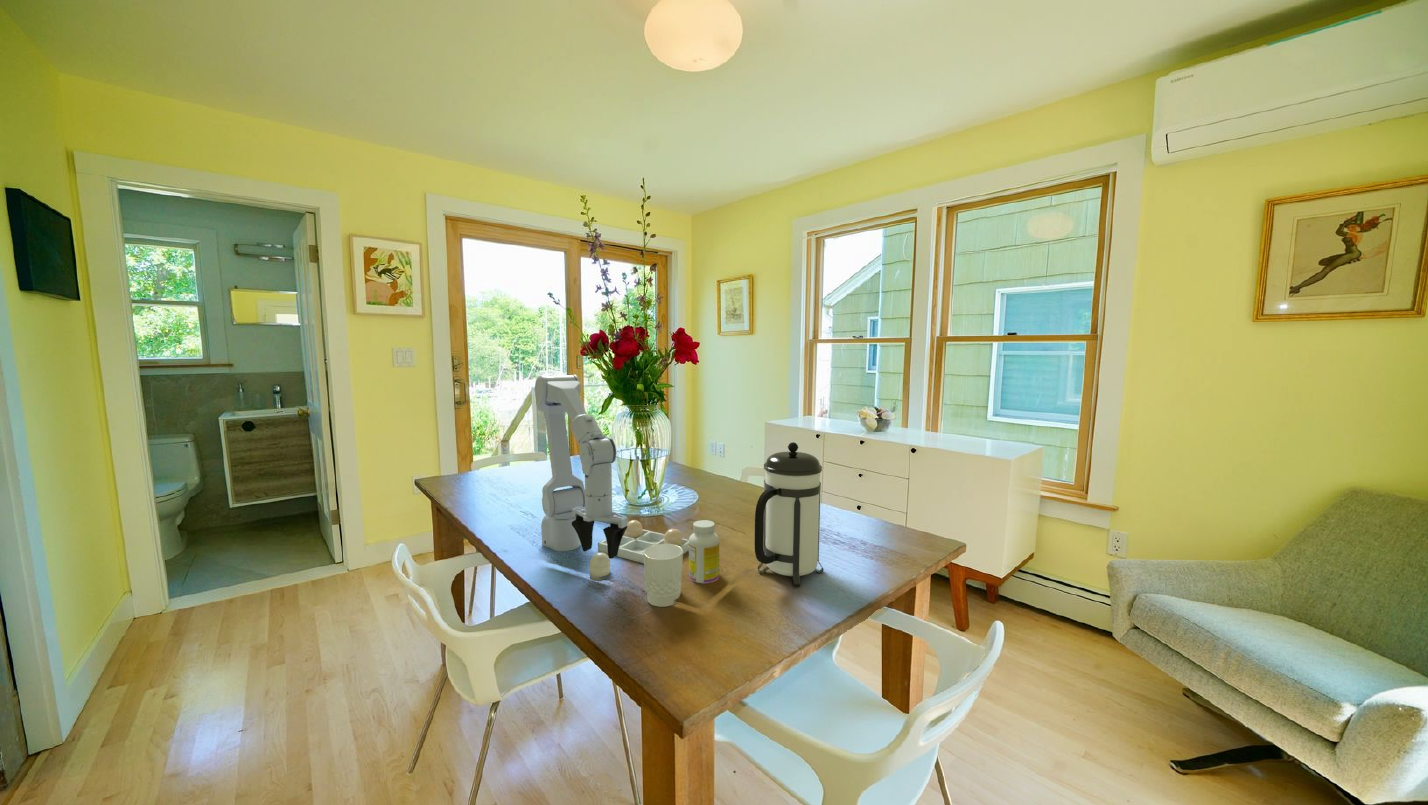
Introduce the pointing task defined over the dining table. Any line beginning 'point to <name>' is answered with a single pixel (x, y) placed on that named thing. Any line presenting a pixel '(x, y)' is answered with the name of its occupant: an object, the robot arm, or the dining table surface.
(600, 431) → the robot arm
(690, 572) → the supplement bottle
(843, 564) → the dining table surface
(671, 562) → the white cup
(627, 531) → the brown egg back left
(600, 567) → the cream egg
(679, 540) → the brown egg back right
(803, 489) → the coffee press
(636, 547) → the egg carton
